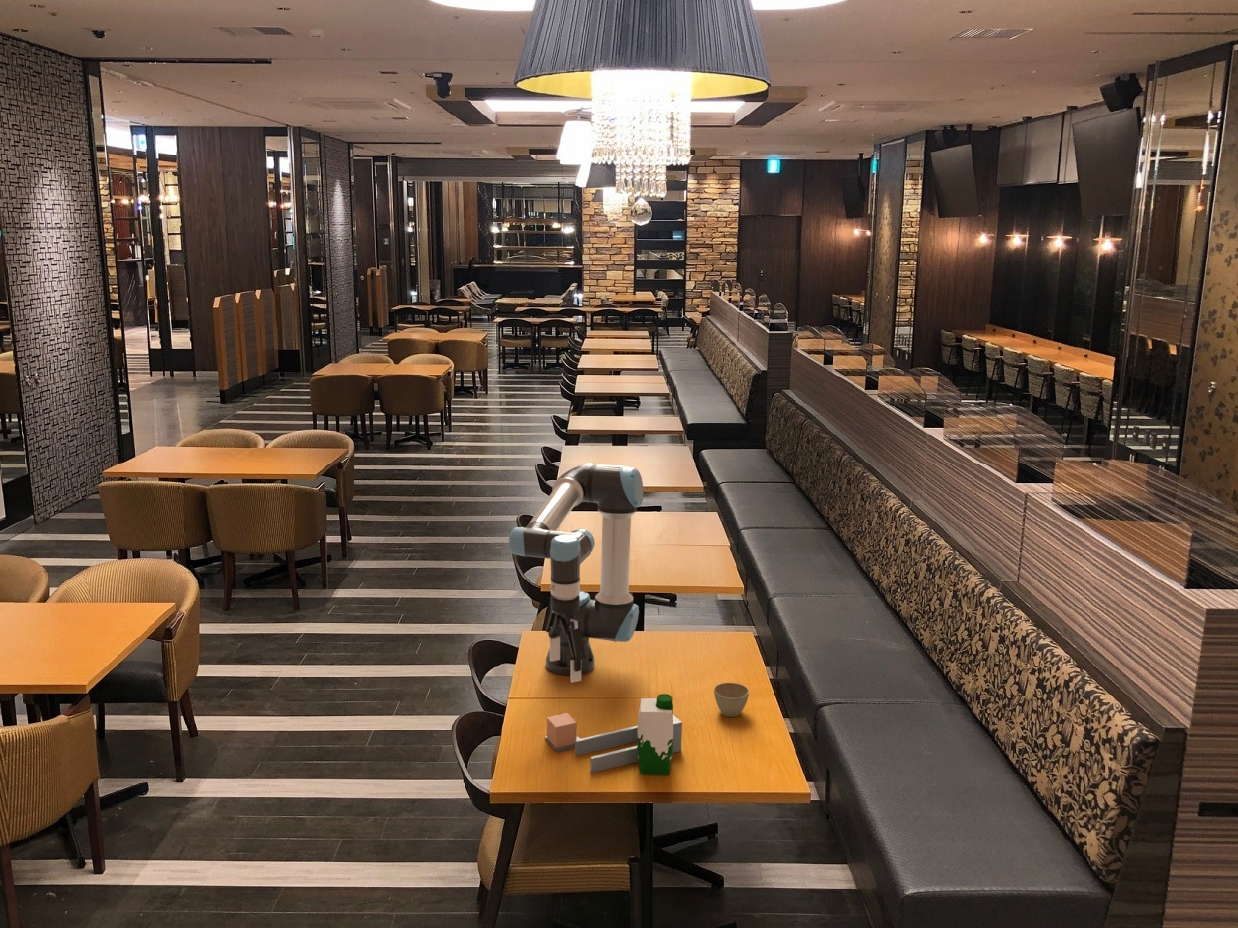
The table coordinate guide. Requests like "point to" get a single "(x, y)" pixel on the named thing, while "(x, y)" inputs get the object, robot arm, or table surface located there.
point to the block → (561, 730)
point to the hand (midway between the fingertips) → (565, 670)
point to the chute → (618, 739)
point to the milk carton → (655, 735)
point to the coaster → (562, 746)
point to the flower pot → (731, 698)
